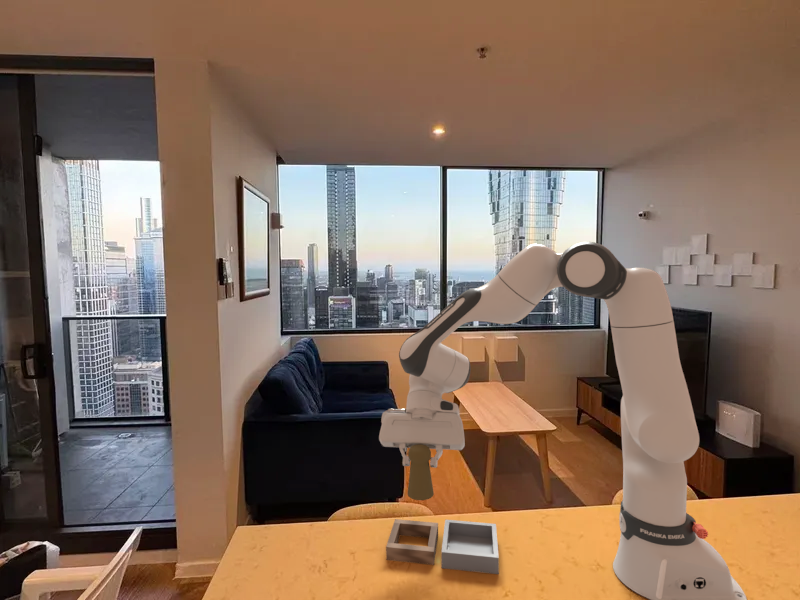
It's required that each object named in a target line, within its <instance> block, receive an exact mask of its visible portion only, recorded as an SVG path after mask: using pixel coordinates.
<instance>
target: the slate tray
mask: <svg viewBox="0 0 800 600" xmlns="http://www.w3.org/2000/svg"><path fill="white" fill-rule="evenodd" d="M498 544H499V543H498V535H497V524H496V523H489V522H478V521H468V520H456V519H445V521H444V527H443V536H442V543H441V552H440V553H441V554H440V555H441V556H440V557H441V558H440V559H441V563H440V564H441V569H444V570H445V569H447V570H456V571H457V570H458V571H466V572H476V573H482V574H483V573H484V574H493V575H499V574H500V573H499V572H500V571H499V570H500V566H499V565H500V561H499V560H500V558H499V545H498Z"/></svg>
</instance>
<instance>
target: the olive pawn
mask: <svg viewBox="0 0 800 600" xmlns="http://www.w3.org/2000/svg"><path fill="white" fill-rule="evenodd" d="M407 454H408V455H407V456H408V457H409V459H410V466H409V475H408V484H407V485H408V486H407V496H408V497H409V498H410V499H412V500H413V501H427V500H429V499H432V497H433V498H434V494H435V493H434V487H433V480H432V473H431V466H430V458H431V457H432V451H431V449H429V447H428V446H426V445H422V444H417V445H413V446H411V447H410V448H408V452H407Z"/></svg>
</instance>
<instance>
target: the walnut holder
mask: <svg viewBox="0 0 800 600" xmlns="http://www.w3.org/2000/svg"><path fill="white" fill-rule="evenodd" d="M401 536H405V537H406V536H407V537H415V538H417V537H418V538H427V539H428V543H427V546H425V545H415V544H405V543H404V544H403V543H399V540H400V537H401ZM438 539H439V522H434V521H433V522H432V521H421V520H408V519H398V518H397V519H396V518H394V522H393V524H392V527H391V531H390V533H389V537H388V540H387V543H386V545H385V556H386V557H385V559H386V560H387V561H393V562H394V561H395V562H402V563H403V562H404V563H412V564H422V565H430V566H431V565H432V566H434V565H435V560H436V553H437V545H438Z"/></svg>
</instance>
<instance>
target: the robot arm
mask: <svg viewBox="0 0 800 600" xmlns="http://www.w3.org/2000/svg"><path fill="white" fill-rule="evenodd" d="M560 287H561V288H562V287H563V288H564V289H565V290H567V291H568V292H570V293H571V294H573V295H575V296H580V297H585V298H594V299H600V300H604V302H605V304H606V307H607V311H608V316H609V322H610V329H611V330H610V331H611V336H612V343H613V350H614V356H615V364H616V367H617V371H618V376H619V382H620V385H621V390H622V391H621V392H622V397H621V399H620V427H621V428H620V429H621V431H620V432H621V449H622V450H621V453H622V469H623V470H622V471H623V473H622V474H623V477H622V501H620V506H619V508H620V511H619V519H618V520H619V529H620V538H619V544H618V548H617V551H616V555H615V557H614V560H613V562H612V568H613V572H614V573H615V575H616V577H617V578H618V580H619V581H620V582H622V584H624V585H625V586H626V587H627V588H629V589H631V590H632V592H635V593H636V594H638V595H640V596H642V597H644V598H646V599H648V600H748V598H747V596H746V593H745V591H744V590H743V589H742V587H741V586H740V584H739V583H738V582H737V581H736V578H735V579H734V577H733V576H732V575H731V572H730V569H729V566H728V565H727V562H726V561H725V559H724V558H723V556H722V555H721V554H720V552H718V551H717V550H716V548H715V547H714V546H712V544H710V543H709V542H708V541H707V540H705V539H707V537H709V533H708V531H707V529H705V528H704V525H702V524H700V523H697V522H696V519H695V518H694V517H693V515H690V514H689V513H688V512H687V498H688V497H687V494H688V493H687V492H688V478H687V474H686V468H685V461H687V460H689V459H691V458H692V457H693V456H694V455H695V454H696V452H697V450H698V448H699V447H700V433H699V430H698V426H697V422H696V417H695V413H694V408H693V405H692V400H691V396H690V393H689V389H688V384H687V382H686V378H685V374H684V372H683V371H684V370H683V368H682V364H681V360H680V353H679V348H678V347H679V346H678V340H677V334H676V328H675V321H674V316H673V309H672V304H671V302H670V298H669V294H668V291H667V289H666V285H665V283H664V280H663V278H662V277H661V275H660V274H659V273H658V272H656V271H655V270H653V269H650V268H647V267H632V268H627V267H625V266H624V265H623V264H622V263H621V262H620V261H619V259H618V258H617V257H616V256H615V255H614V253H613V252H612V251H611V250H610V249H609V248H608V247H606V246H604V245H603V244H600V243H597V242H594V241H582V242H581V241H580V242H577V243H574V244H573V245H571V246H569V247H567V249H565V250H564V251H563V252H561V253H559V252H556V251H554V250H553V249H552V248H550V247H549V246H546V245H544V244H539V243H531V244H529V245H527V246H525V247H524V248H523V249H522V250H520V251H518V252H517V254H515V255H514V256H513V257H512V258H511V259H510V260H509V261H508V262H507V263H506V264H505V265H504V266H503V268H501V270H500V271H498V273H497V274H496V275H495V276H494V277H493V278H492V279H491V280H489V281H488V282H487V283H485V284H483V285H481V286H479V287H476V288H469V289H467V290H465V291H464V292H462V293H461V294H460V295H458V296H457V297H456V298H455V299H454V300H452V301H451V302H450V303H449V304H448V305H446V307H445V308H443V310H441V311H440V312H439V313H438V314H436V315H435V317H433V318H432V319H431V320H430V321H429V322H427V324H425V325H423V327H422V328H421V329H419V330H418V331H416V332H415V333H413V334H412V335H410V336H409V337H407V338H406V339H405V340H404V342H403V343H402V344H401V346H400V348H399V353H398V357H399V362H400V365H401V367H402V370H403V371H404V373H406V374H409V378H408V385H409V390H408V393H407V397H406V405H405V406H406V407H405V408H388V409H387V410H385V411H383V412H382V414H381V419H380V420H381V421H380V423H381V426H380V430H379V435H378V441H379V442H380V444H381V446H382V447H385V448H399V451H400V453H401V456H402V466H403V467H410V465H411V461H410V459H409V457H408V455H407V454H406V453H405V452H407V449H410V447H411V446H413V445H417V444H422V445H426V446H428V447H429V449H430V450H435V452H436V454H435V455H434V457H432V456H431V458H430V460H429V466H430V468H434V469H435V468H438V461H439V459H440V458H441V457H442V455H443V452H444V451H443V450H450V451H451V450H453V451H462V450H463V449H464V448H465V446H466V445H465V444H466V443H465V431H464V424H463V423H464V422H463V420H462V417H461V416H460V415H461V414H460V408H459V405H458V404H457V403H455V402H453V401H448V400H446V399H442V398H443V395H444V394H449V393H452V392H455V391H458V390H460V389H461V388H463V387H465V386H466V385H467V384H468V382H469V380H470V376H471V370H472V367H471V361H470V359H469V358H468V356H466V355H465V354H463V353H461V352H460V351H457V350H455V349H453V348H452V347H449V346H447V345H446V344H443V343H442V342H443V341H445V340H446V339H447V338H448V337H450V335H451V334H453V332H455V331H456V330H457V329H458V328H460V327H462V325H464V324H466V323H471V322H472V323H473V322H486V323H487V322H488V323H492V324H498V325H499V324H500V325H509V324H510V325H511V324H514V323H515V324H516V323H518V322H519V321H520V322H521V320H523V319H524V318H526V317H527V316H528V315H529V314H530V313H531V312H532V311H533V310H534V309H535V307H536V306H538V305H539V303H540V302H541V301H542V300H543V299H544V298H545V296H546V295H548V294H549V293H550V292H551V291H552V290H554V289H556V288H560Z"/></svg>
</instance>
